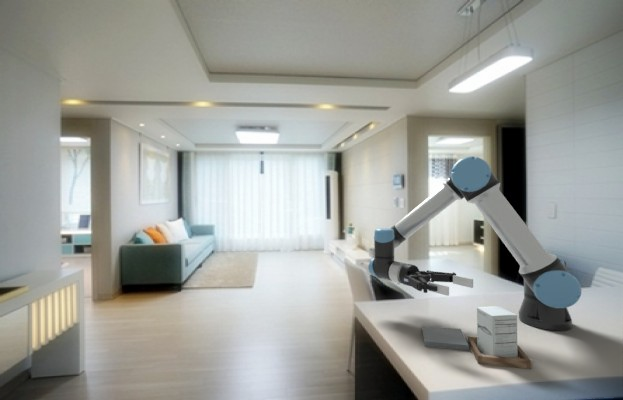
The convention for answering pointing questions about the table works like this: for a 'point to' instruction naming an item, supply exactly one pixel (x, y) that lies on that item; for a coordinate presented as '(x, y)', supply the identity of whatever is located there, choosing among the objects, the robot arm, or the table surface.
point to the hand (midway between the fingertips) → (461, 287)
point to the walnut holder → (499, 357)
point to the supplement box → (497, 331)
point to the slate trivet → (444, 338)
